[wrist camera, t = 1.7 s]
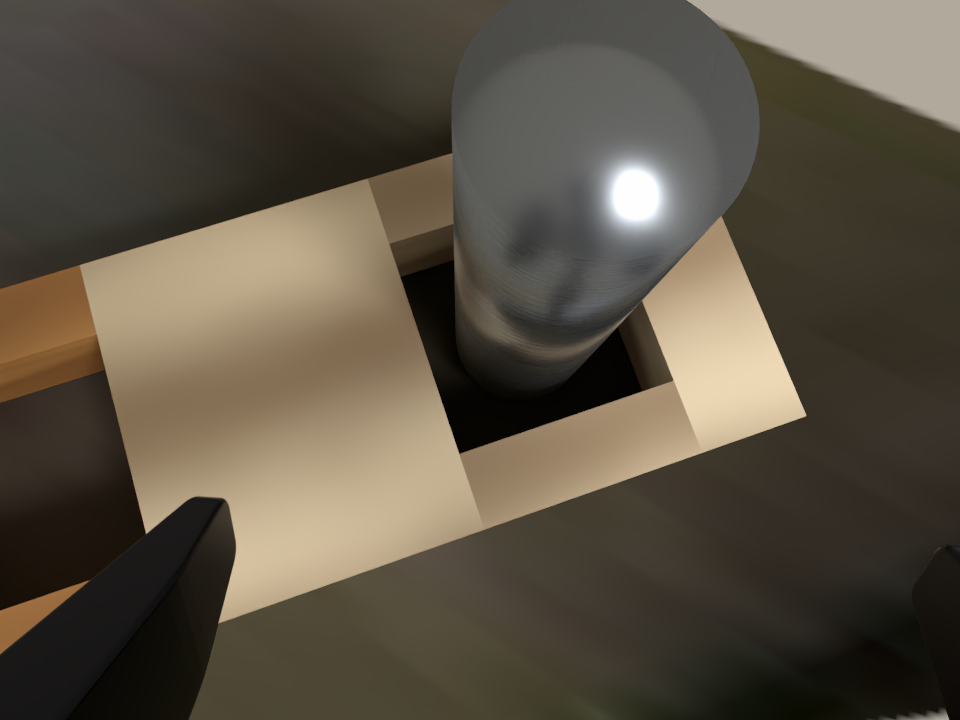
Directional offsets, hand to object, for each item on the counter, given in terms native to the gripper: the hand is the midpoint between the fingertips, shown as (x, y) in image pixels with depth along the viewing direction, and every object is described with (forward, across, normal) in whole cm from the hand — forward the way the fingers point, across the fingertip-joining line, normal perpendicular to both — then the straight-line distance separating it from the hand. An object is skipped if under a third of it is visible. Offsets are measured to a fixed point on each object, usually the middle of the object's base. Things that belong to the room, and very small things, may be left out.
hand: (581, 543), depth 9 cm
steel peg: (+12, 0, +5) cm, 13 cm away
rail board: (+11, +6, +6) cm, 14 cm away
